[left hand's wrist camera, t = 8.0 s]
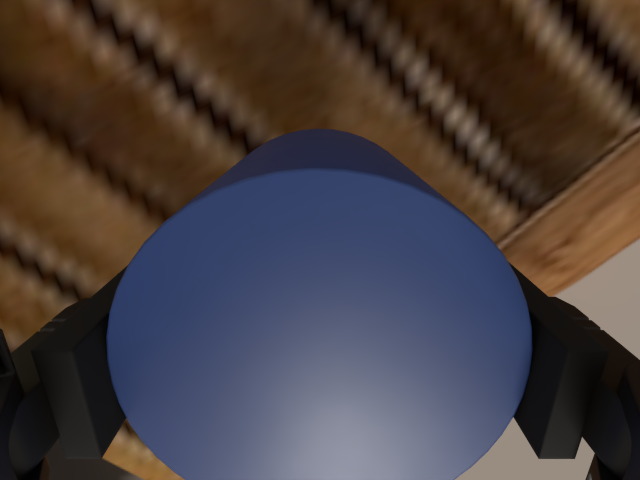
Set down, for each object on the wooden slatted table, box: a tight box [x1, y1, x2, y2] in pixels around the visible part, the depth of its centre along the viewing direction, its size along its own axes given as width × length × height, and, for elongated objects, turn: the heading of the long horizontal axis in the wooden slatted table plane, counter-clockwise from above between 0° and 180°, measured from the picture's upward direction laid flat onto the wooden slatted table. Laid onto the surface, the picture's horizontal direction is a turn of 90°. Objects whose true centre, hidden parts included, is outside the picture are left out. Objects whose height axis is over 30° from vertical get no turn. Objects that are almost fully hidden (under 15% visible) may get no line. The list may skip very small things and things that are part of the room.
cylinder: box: [106, 129, 532, 480], centre depth 12 cm, size 9×9×9 cm
